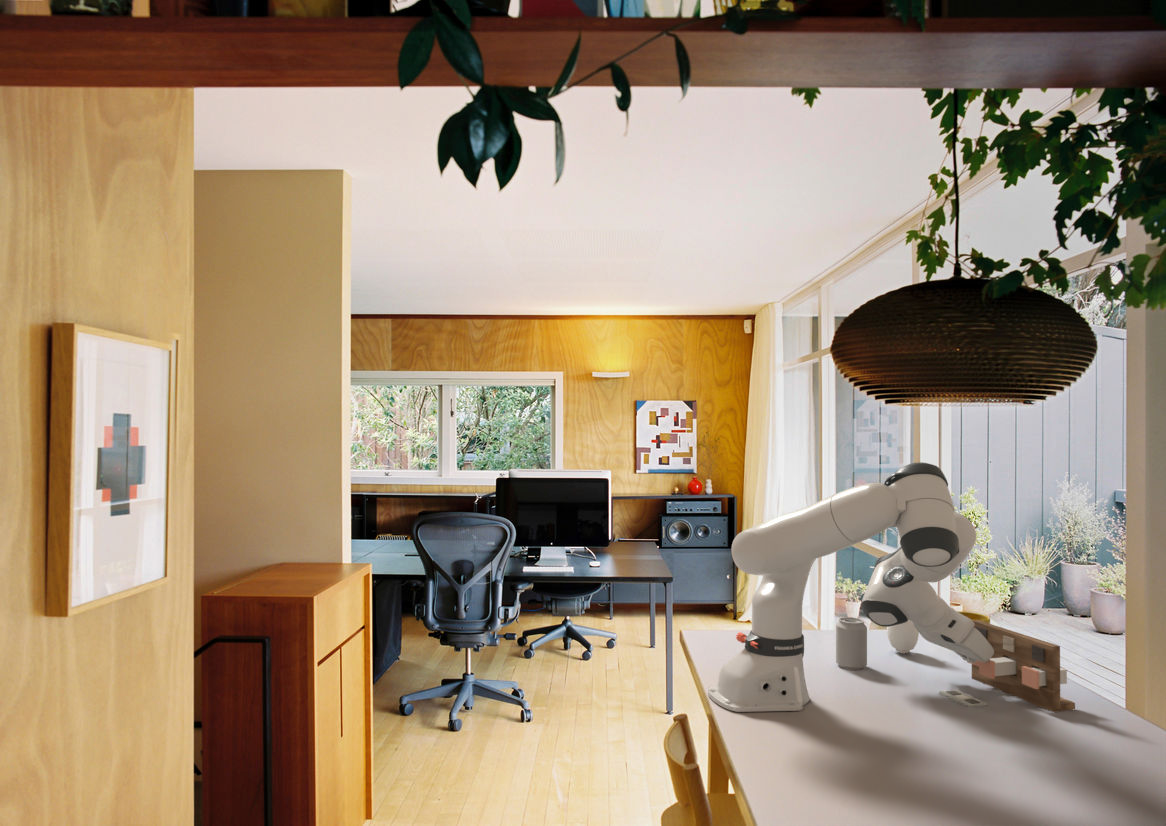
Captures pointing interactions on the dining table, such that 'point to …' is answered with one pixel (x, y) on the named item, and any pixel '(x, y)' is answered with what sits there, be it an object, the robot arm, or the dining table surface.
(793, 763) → the dining table surface
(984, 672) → the button middle
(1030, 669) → the button near
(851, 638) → the can
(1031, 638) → the console
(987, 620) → the plant pot
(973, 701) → the card
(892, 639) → the cream tall ovoid
